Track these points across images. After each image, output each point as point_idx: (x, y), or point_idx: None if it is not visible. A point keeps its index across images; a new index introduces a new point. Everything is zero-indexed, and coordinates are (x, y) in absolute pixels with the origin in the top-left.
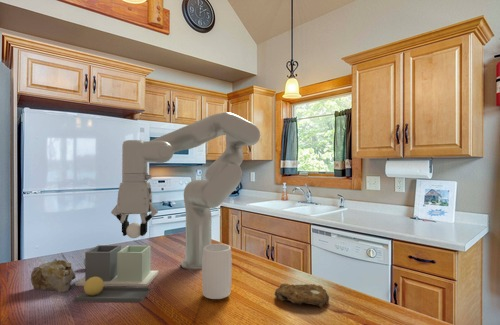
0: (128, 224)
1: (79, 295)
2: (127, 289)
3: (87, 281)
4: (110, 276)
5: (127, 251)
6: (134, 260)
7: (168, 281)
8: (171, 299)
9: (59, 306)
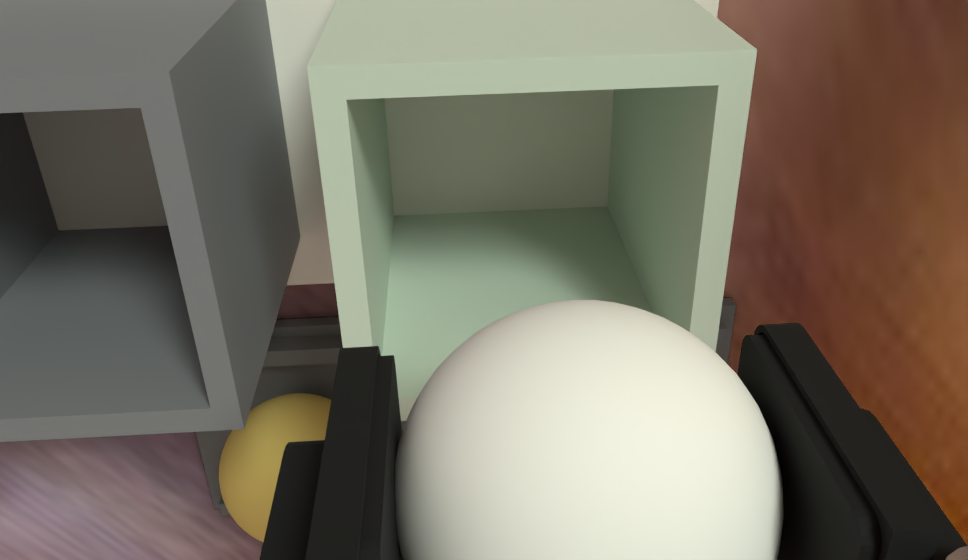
0: (385, 536)
1: (200, 436)
2: None
3: (258, 539)
4: (293, 249)
5: (359, 132)
6: None
7: (861, 95)
8: (909, 405)
9: (171, 534)
